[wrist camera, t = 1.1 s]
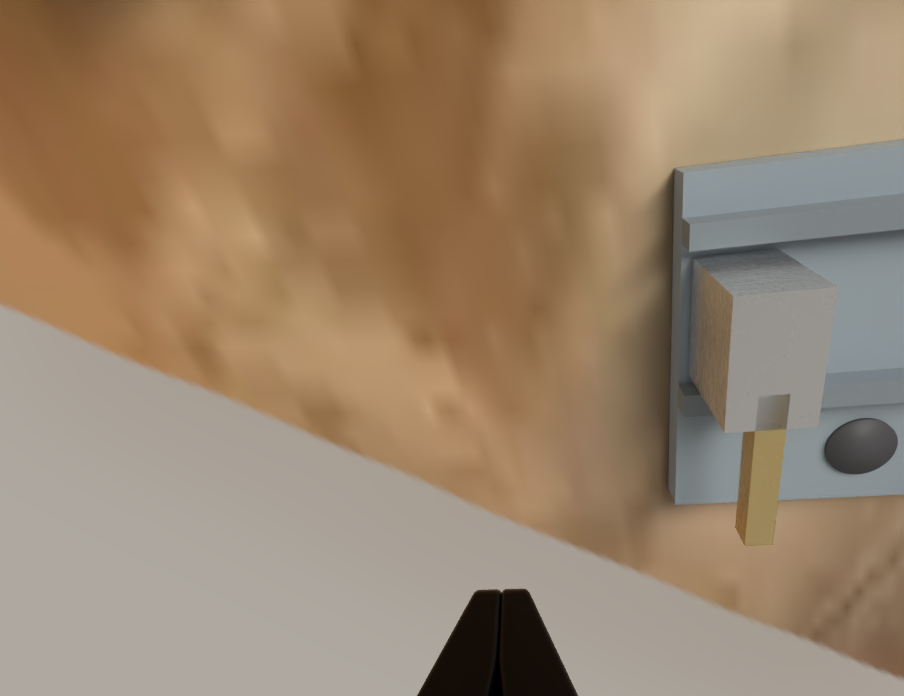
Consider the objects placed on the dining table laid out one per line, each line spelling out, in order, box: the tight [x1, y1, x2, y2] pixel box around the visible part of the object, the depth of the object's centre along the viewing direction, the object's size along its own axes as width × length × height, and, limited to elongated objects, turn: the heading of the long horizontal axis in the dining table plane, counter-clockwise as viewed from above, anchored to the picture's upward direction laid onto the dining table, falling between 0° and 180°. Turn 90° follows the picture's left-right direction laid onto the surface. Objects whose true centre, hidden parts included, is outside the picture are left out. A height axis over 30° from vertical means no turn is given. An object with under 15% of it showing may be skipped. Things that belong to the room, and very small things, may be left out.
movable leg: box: [689, 249, 838, 546], centre depth 17 cm, size 2×8×4 cm, turn 8°
